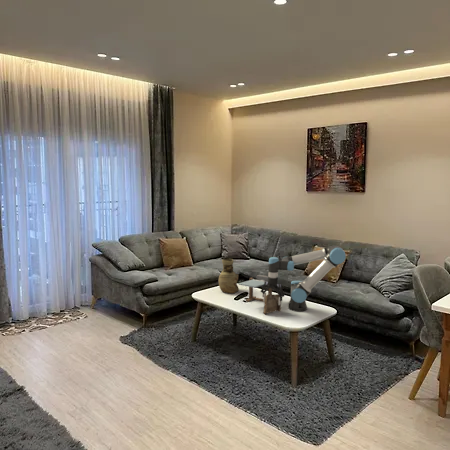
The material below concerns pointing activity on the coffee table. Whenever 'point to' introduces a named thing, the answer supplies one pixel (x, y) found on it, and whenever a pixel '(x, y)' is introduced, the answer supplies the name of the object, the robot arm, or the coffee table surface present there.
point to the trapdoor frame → (255, 297)
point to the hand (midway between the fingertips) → (272, 303)
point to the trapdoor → (255, 281)
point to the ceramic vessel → (228, 277)
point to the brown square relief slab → (272, 303)
